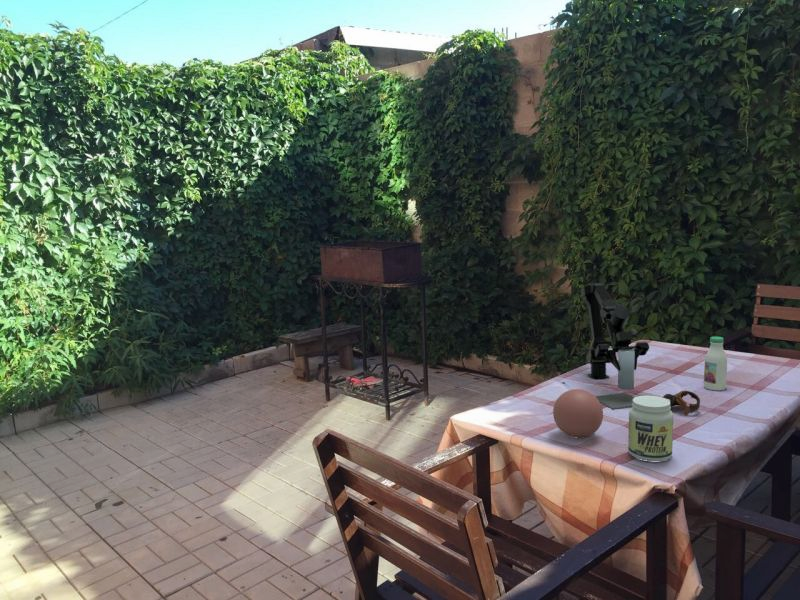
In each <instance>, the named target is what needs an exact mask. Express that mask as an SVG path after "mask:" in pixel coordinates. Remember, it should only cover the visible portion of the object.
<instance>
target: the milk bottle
mask: <svg viewBox="0 0 800 600" xmlns="http://www.w3.org/2000/svg"><path fill="white" fill-rule="evenodd" d="M724 342H725V341H724V337H723V336H711V337H710V338H709V343H710V345H709V348H708V351H707V352H706V354H705V359H704V371H703V372H704V374H703V376H704V377H703V388H704V389H707V390H709V391H720V392H721V391H724V390H726V388H727V374H728V358H727V357H728V356H727V354H726V352H725V349H724Z"/></svg>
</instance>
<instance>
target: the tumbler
mask: <svg viewBox="0 0 800 600" xmlns="http://www.w3.org/2000/svg"><path fill="white" fill-rule="evenodd" d="M617 353H618V354H617V355H618V357H617V360H618V363H619V366H620V371H618V370H617V388H618V389H620V390H625V391H631V390H634V388H635V370H634V361H635V350H632V349H619V350H618V352H617Z"/></svg>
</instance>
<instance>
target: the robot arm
mask: <svg viewBox="0 0 800 600" xmlns="http://www.w3.org/2000/svg"><path fill="white" fill-rule="evenodd" d="M580 295H581V297H582V300H583V303H584V304H585V305H586V306H587V309H588V315H589V317H588V318H589V325H590V331H591V339H592V340H591V343H590V345H589V348H588V349H589V350H588V351H587V352H588V353H587V354H586V362H587V363H588V364H589V365H590V373H588V374H587V376H588V375H589V377H590V376H591V378H592V377H593V379H594V378H595V379H594V380H599V379H598V378H601V379H607V378H608V377H609V378H610V376H609V375H608V374H607V364H611V365H612V366H613V367H614V368H615V369H616V370H617V372H618V371H620V366H619V363H618V357H617V355H616V354H617V353H618V350H619V349H632V350H635V361H634V371H636V370H637V369H638V368H637V366H638V358H639V356H640V357H641V356H645V355H647V353H648V351H649V349H650V345H649V343H648V342H647V341H637V342H636V343H635V345H633V346H630V345H631V344H632V341H634V340H635V339H637V338H638V332H637V329H630V330H628V331H626V330H625V328H624V326H625V325H626V324H627V322H628V320H629V318H630V316H631V311H630V310H629V308H627V307H626V306H623V303H618V302H617V301H615V300H613V299H612V298H611V296H610V294H609V292H608V290H607V289H606V286H605V283H604V282H592V283H590V284H588V285H584V286H583V287H581V289H580ZM602 319H603V320H604V321H607V323H606V330H607V331H608V335H609V340H606V339H605V336H604V330H603V329H604V327H603V323H602ZM609 342H610V343H611V345H610V343H609Z"/></svg>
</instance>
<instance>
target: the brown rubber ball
mask: <svg viewBox="0 0 800 600" xmlns="http://www.w3.org/2000/svg"><path fill="white" fill-rule="evenodd" d="M603 411H604V410H603V407H602V404H601V403H600V402H599V400H598V399H597V398H596V397H595V395H594V394H593V393H592V392H589V391H587V390H584V389H582V388H581V389H579V388H575V389H570V390H567V391H565V392H563V393H562V394H560V395H559V396H558V398H557V399H556V400H555V402H554V405H553V410H552V416H553V420H554V422H555V424H556V426H557V428H558V429H559V430H560V431H561V432H562V433H564V434H565V435H567V436H568V437H570V438H571V437H572V438H574V437H577V438H576V439H581V438H582V439H584V438H587V437H588V438H589V437H590V436H592V435H593V434H595V433H596V432H597V431H598V430H599V429H600V427H601V425H602V424H603V418H604V412H603Z"/></svg>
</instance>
